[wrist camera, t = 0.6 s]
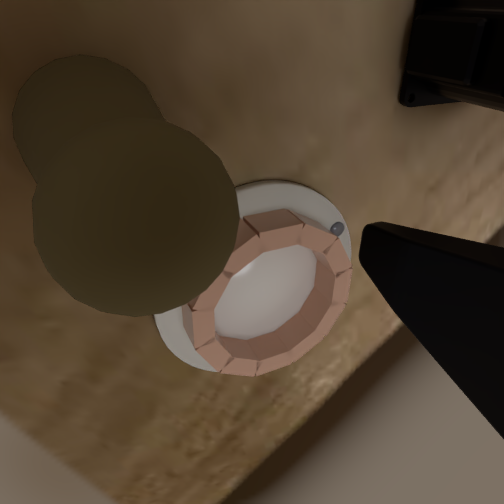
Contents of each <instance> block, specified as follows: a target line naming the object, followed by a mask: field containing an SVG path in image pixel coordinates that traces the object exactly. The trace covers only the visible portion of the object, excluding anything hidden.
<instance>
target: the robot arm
mask: <svg viewBox="0 0 504 504" xmlns="http://www.w3.org/2000/svg"><path fill="white" fill-rule="evenodd" d="M409 95H410V98H409V99H408V97H409ZM453 102H467V103H471V104H475V105H479V106H483V107H487V108H491V109H495V110H499V111H503V112H504V0H417V4H416V10H415V15H414V21H413V26H412V32H411V37H410V43H409V49H408V54H407V60H406V65H405V71H404V76H403V82H402V87H401V93H400V104H401V105H403V106H406V107H416V106H426V105H435V104H444V103H453ZM359 261H360V264H361V266H362V267H363V268H364V270H365V271H366V273H367V274H368V276H369V277H370V278H371V280H372V281H373V283H374V284H375V286H376V287H377V288H378V290H379V291H380V293H381V294H382V296H383V297H384V298H385V300H386V301H387V303H388V304H389V305H390V307H391V308H392V310H393V311H394V312H395V313H396V315H397V316H398V317H399V318H400V320H401V321H402V322H403V323H404V324H405V325H406V326H407V328H408V329H409V330H410V331H411V332H412V333H413V334H414V336H415V337H416V338H417V339H418V340H419V342H420V343H421V344H422V345H423V346H424V347H425V349H426V350H427V351H428V352H429V353H430V354H431V355H432V357H433V358H434V359H435V360H436V361H437V362H438V364H439V365H440V366H441V367H442V368H443V369H444V371H445V372H446V373H447V374H448V375H449V376H450V378H451V379H452V380H453V381H454V382H455V383H456V384H457V386H458V387H459V388H460V389H461V390H462V391H463V392H464V394H465V395H466V396H467V397H468V398H469V400H470V401H471V402H472V403H473V404H474V405H475V406H476V408H477V409H478V410H479V411H480V412H481V414H483V416H484V417H485V418H486V419H487V420H488V422H489V423H490V424H491V425H492V426H493V427H494V429H495V430H496V431H497V432H498V433H499V434H500V436H501V437H502V438H503V439H504V248H503V247H498V246H494V245H489V244H484V243H480V242H475V241H470V240H466V239H461V238H456V237H452V236H447V235H442V234H438V233H433V232H429V231H424V230H419V229H415V228H410V227H405V226H401V225H396V224H391V223H387V222H375V223H371V224H367V225H366V226H365V227H364V229H363V232H362V238H361V244H360V250H359Z"/></svg>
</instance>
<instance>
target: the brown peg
mask: <svg viewBox="0 0 504 504" xmlns="http://www.w3.org/2000/svg"><path fill="white" fill-rule="evenodd" d="M12 119H13V134H14V140H15V142H16V144H17V147H18V149H19V151H20V154H21V156H22V158H23V161H24V162H25V164H26V166H27V167H28V169H29V171H30V173H31V174H32V176H33V178H34V180H35V181H36V183H37V188H36V191H35V194H34V197H33V200H32V209H33V229H34V243H35V245H36V247H37V249H38V252H39V254H40V256H41V258H42V260H43V262H44V264H45V267H46V269H47V271H48V272H49V273H50V274H51V276H52V277H53V278H54V279H55V280H56V281H57V282H58V283H59V284H60V285H61V286H62V287H63V288H64V289H65V290H66V291H67V292H68V293H69V294H70V295H71V296H72V297H73V298H74V299H76V300H78V301H80V302H82V303H84V304H87V305H89V306H91V307H93V308H95V309H97V310H99V311H102V312H107V313H112V314H119V315H126V316H132V317H138V316H146V315H154V314H161V313H164V312H167V311H169V310H172V309H175V308H177V307H180V306H183V305H185V304H187V303H188V302H190V301H191V300H192V299H194V298H195V297H197V296H198V295H200V294H201V293H203V292H204V291H206V290H207V289H208V287H209V286H210V285H211V284H212V283H213V282H214V281H215V280H216V278H217V277H218V276H219V275H220V274H221V273H222V272H223V270H224V268H225V266H226V264H227V262H228V260H229V258H230V256H231V254H232V252H233V250H234V246H235V243H236V237H237V232H238V226H239V220H240V214H239V207H238V200H237V193H236V190H235V187H234V185H233V183H232V181H231V179H230V177H229V175H228V173H227V171H226V169H225V167H224V165H223V163H222V161H221V159H220V158H219V157H218V156H217V155H216V154H215V153H214V152H213V151H212V150H210V149H209V148H208V147H207V146H206V145H205V144H204V143H203V142H202V141H201V140H200V139H199V138H197V137H196V136H195V135H193V134H192V133H191V132H188V131H186V130H184V129H182V128H179V127H177V126H175V125H172V124H170V123H168V122H166V121H165V119H164V118H163V116H162V114H161V112H160V110H159V109H158V107H157V105H156V103H155V102H154V100H153V98H152V96H151V95H150V93H149V91H148V89H147V88H146V86H145V85H144V84H143V83H142V82H141V81H140V80H139V79H138V78H137V77H136V76H134V75H133V74H132V73H131V72H130V71H129V70H128V69H126V68H124V67H122V66H120V65H118V64H116V63H114V62H112V61H110V60H108V59H105V58H99V57H92V56H85V55H77V56H71V57H66V58H60V59H56V60H54V61H52V62H50V63H49V64H47V65H45V66H44V67H42V68H40V69H38V70H37V71H35V72H34V73H33V74H32V75H31V77H30V78H29V79H28V80H27V82H26V83H25V84H24V86H23V87H22V88H21V89H20V91H19V93H18V97H17V100H16V103H15V106H14V110H13V113H12Z"/></svg>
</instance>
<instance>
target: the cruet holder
mask: <svg viewBox="0 0 504 504" xmlns="http://www.w3.org/2000/svg"><path fill="white" fill-rule="evenodd" d="M235 190H236V193H237V200H238V207H239V214H240V220H239V226H238V232H237V237H236V243H235V246H234V250H233V252H232V254H231V256H230V258H229V260H228V262H227V264H226V266H225V268H224V270H223V272H222V273H221V274H220V275H219V276H218V277H217V278H216V280H215V281H214V282H213V283H212V284H211V285H210V286H209V287H208V289H207V290H206V291H204V292H203V293H201V294H200V295H198V296H197V297H195V298H194V299H192V300H191V301H190V302H188V303H187V304H185V305H183V306H180V307H177V308H175V309H172V310H169V311H167V312H164V313H161V314H154V315H153V316H154V320H155V323H156V325H157V328H158V330H159V332H160V335H161V337H162V339H163V341H164V342H165V344H166V345H167V347H168V348H169V349H170V350H171V351H172V352H173V353H174V354H175V355H176V356H177V357H178V358H180V359H181V360H182V361H184V362H186V363H188V364H189V365H191V366H193V367H197V368H200V369H203V370H208V371H213V372H220V373H224V374H233V375H243V376H252V377H254V375H256V376H258V375H261V374H264V373H267V372H270V371H273V370H276V369H278V368H281V367H284V366H287V365H290V364H292V361H293V362H295V361H296V360H298V359H299V358H300V357H301V356H303V355H304V354H305V353H306V352H308V351H309V350H310V349H311V348H313V347H314V346H315V345H316V344H318V343H319V342H320V341H321V340H323V339H324V337H323V336H327V334H328V332H329V331H330V329H331V328H332V326H333V325H334V323H335V321H336V320H337V318H338V317H339V315H340V314H341V312H342V310H343V309H344V307H345V306H346V303H345V302H347V301H348V295H349V288H350V282H351V276H352V269H353V268H352V264H351V241H350V235H349V231H348V228H347V225H346V222H345V220H344V219H343V217H342V215H341V213H340V212H339V211H338V209H337V208H336V207H335V206H334V205H333V204H332V203H331V202H330V201H329V200H327V199H326V198H325V197H324V196H322V195H320V194H319V193H317V192H316V191H314V190H312V189H311V188H309V187H307V186H304V185H301V184H299V183H295V182H290V181H283V180H267V181H257V182H253V183H249V184H245V185H242V186H239V187H236V188H235Z"/></svg>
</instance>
